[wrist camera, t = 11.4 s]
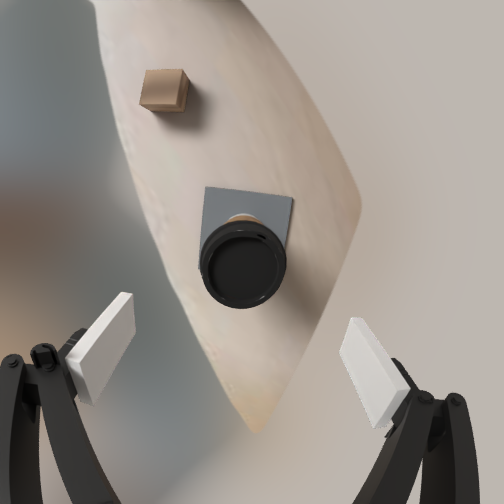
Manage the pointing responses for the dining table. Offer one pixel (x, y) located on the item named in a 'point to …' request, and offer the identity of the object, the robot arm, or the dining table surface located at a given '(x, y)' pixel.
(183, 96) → the walnut block
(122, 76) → the dining table surface
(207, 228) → the slate coaster
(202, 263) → the coffee cup
